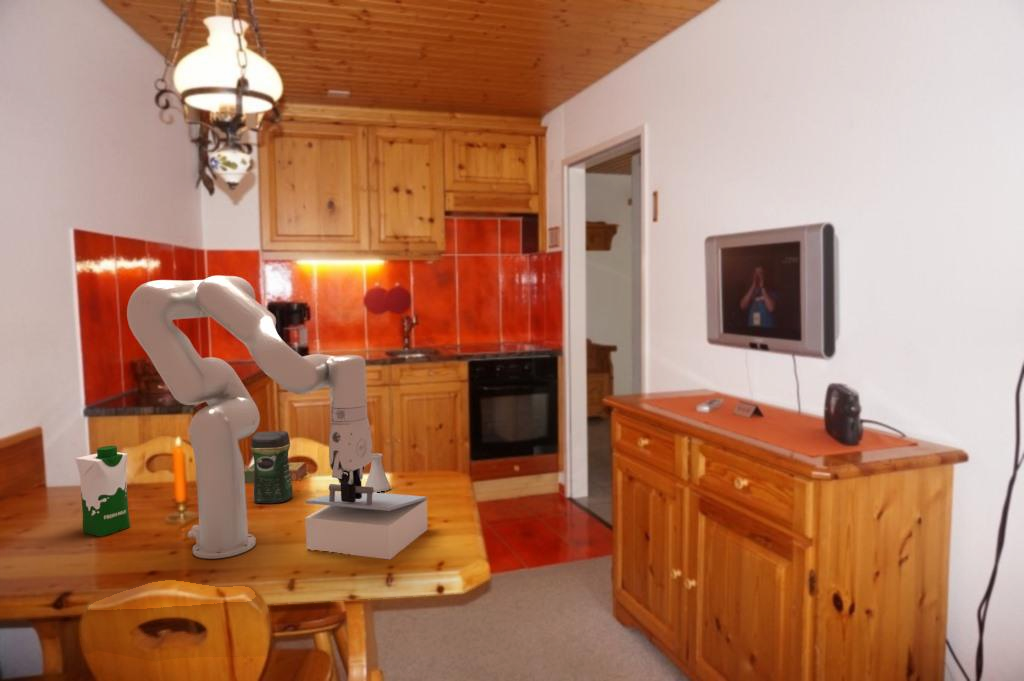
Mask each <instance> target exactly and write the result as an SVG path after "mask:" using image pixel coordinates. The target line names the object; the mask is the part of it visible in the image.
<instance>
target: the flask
mask: <svg viewBox="0 0 1024 681" xmlns="http://www.w3.org/2000/svg"><path fill="white" fill-rule="evenodd" d="M382 457H383V454H382V453H373V459H372V461H371V462H370V464H371V465H370V470H369V473H368V477H367V480H366V482H365V485H364V487H373V489H374V491H373V492H380V493H382V492H381V491H385V492H387V491H386V490H388V491H390V490H392V487H391V485H390V482H389V480H388V477H387V475H386V472H385V470H384V466H383V463H382V459H383V458H382ZM389 489H390V490H389Z"/></svg>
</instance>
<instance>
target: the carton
mask: <svg viewBox="0 0 1024 681" xmlns="http://www.w3.org/2000/svg"><path fill="white" fill-rule="evenodd" d="M289 470H290V477H291V481H298V480H299V479H300V478H302V479H303V478H304V477H305V476H306V475H307V470H308V469H307V462H305V461H301V462H299V461H298V462H295V461H294V462H289ZM244 474H245V484H254V463H253V464H252V465H251V466H249V467H248V468H246V469H244Z"/></svg>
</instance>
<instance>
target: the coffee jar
mask: <svg viewBox="0 0 1024 681" xmlns="http://www.w3.org/2000/svg"><path fill="white" fill-rule="evenodd" d="M290 447H291V440H290V436H289V433H288V431H280V430H279V431H278V430H277V431H276V430H274V431H273V430H272V431H271V430H269V431H268V430H267V431H259V432H255V433H253V434H252V435H251V442H250V450H251V451H250V452H251V454H252V456H253V462H254V463H253V464H254V483H253V501H254V502H255V503H256V504H257V503H258V504H277V503H282V502H286V501H289V500H290V499H291V498H292V497H293V495H294V494H293V493H294V492H293V482H291V477H290V470H289V463H290V462H289V450H290Z"/></svg>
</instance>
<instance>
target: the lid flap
mask: <svg viewBox="0 0 1024 681" xmlns="http://www.w3.org/2000/svg"><path fill="white" fill-rule="evenodd" d="M328 490H329V494H328V495H324V496H320V497H315V498H314V497H313V498H310V499H307V500H305V502H304V503H305V504H307V505H308V504H311V505H321V506H328V505H330V506H341V507H352V508H363V509H374V510H385V511H390V510H393V509H397V508H400V507H403V506H407V505H410V504H413V503H417V502H420V501H423V500H427V501H428V497H427V496H423V495H421V496H420V495H410V494H398V493H397V494H395V493H386V492H380V493H375V492H373V491H374V489H373V487H365V486H363V485H362V486H355V493H362V498H361V499H356V501H355V502H353V503H351V502H342V501H341V484H339V483H338V484H335V483H330V484H329V485H328ZM336 492H337V493H336Z"/></svg>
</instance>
